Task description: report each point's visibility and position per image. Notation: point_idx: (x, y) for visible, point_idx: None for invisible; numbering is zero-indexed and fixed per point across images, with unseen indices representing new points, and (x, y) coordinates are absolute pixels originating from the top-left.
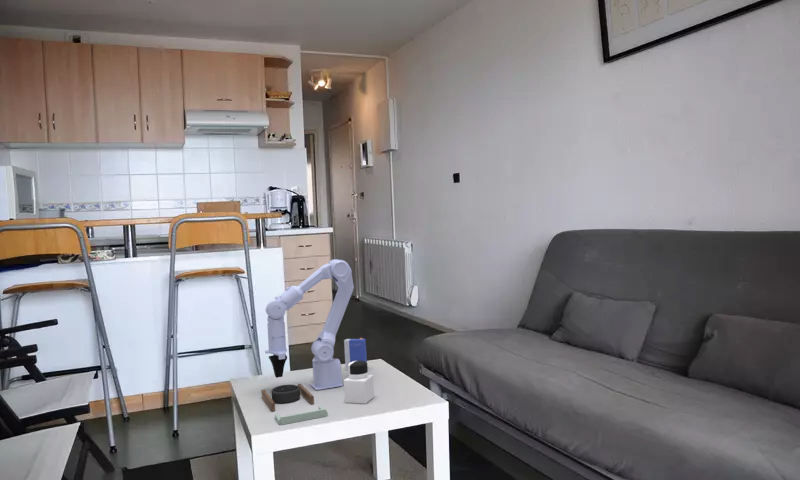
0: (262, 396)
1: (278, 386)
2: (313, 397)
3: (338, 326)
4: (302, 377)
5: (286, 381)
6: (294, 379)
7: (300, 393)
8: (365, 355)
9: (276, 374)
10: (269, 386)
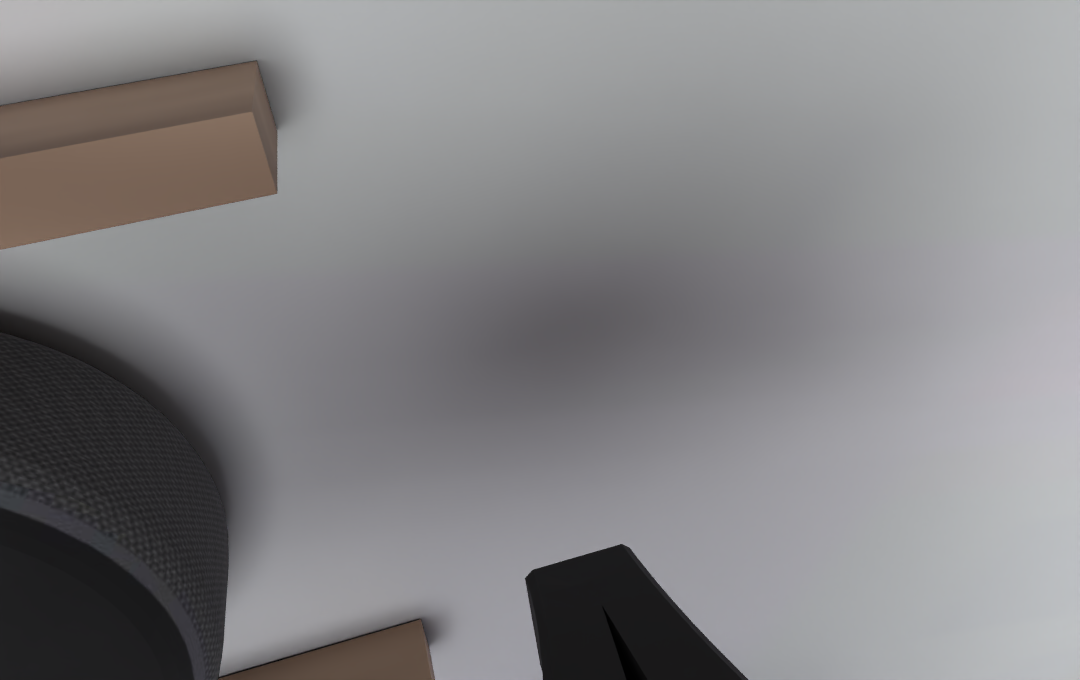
0: (136, 94)
1: (40, 582)
2: None
3: None
4: (1052, 573)
5: (1039, 422)
6: (1046, 504)
7: (252, 676)
8: None
9: (543, 649)
10: (978, 198)
